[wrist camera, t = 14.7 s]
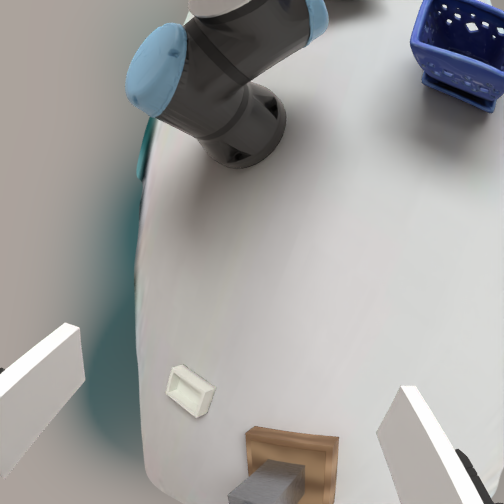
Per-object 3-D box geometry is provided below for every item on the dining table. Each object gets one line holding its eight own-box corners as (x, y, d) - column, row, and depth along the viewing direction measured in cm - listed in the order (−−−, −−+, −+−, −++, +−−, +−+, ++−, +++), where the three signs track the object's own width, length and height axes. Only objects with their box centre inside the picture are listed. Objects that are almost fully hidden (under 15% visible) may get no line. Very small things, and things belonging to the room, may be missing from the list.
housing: (268, 459, 39) (214, 505, 27) (305, 465, 36) (258, 519, 24) (269, 486, 38) (220, 533, 26) (304, 493, 35) (260, 547, 23)
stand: (255, 426, 44) (244, 433, 41) (338, 436, 37) (332, 447, 34) (258, 488, 42) (249, 496, 40) (334, 502, 36) (327, 513, 33)
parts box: (176, 389, 53) (165, 393, 50) (183, 364, 52) (171, 367, 50) (207, 412, 49) (196, 418, 46) (216, 387, 48) (205, 392, 46)
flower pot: (496, 128, 29) (513, 82, 19) (414, 93, 35) (406, 41, 25) (507, 65, 26) (517, 15, 16) (433, 36, 33) (426, -16, 23)
